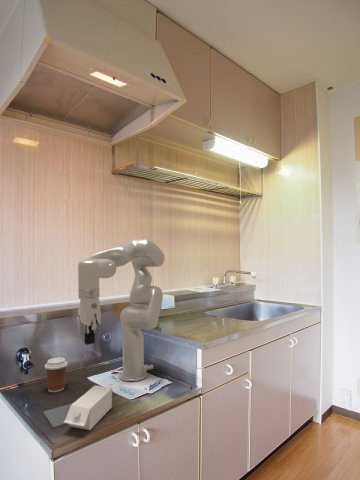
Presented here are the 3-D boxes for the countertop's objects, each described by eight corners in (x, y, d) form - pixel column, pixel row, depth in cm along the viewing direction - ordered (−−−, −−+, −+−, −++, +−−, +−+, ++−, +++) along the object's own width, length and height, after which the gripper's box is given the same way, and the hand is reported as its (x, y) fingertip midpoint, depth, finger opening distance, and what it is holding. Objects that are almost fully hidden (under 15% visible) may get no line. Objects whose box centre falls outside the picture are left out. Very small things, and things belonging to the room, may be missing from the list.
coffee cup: (47, 395, 131) (47, 365, 131) (42, 388, 138) (42, 359, 138) (70, 389, 136) (70, 360, 136) (64, 382, 143) (64, 355, 144)
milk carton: (112, 407, 119) (82, 437, 101) (94, 404, 121) (63, 433, 103) (112, 387, 119) (83, 414, 101) (95, 385, 121) (63, 411, 102)
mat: (89, 399, 126) (89, 398, 126) (102, 412, 116) (102, 411, 116) (43, 412, 116) (43, 411, 116) (53, 428, 106) (53, 426, 106)
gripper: (106, 294, 117) (107, 346, 117) (91, 290, 130) (92, 337, 129) (86, 297, 113) (87, 350, 113) (72, 292, 125) (73, 340, 125)
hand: (89, 343), depth 121 cm, fingers closed
